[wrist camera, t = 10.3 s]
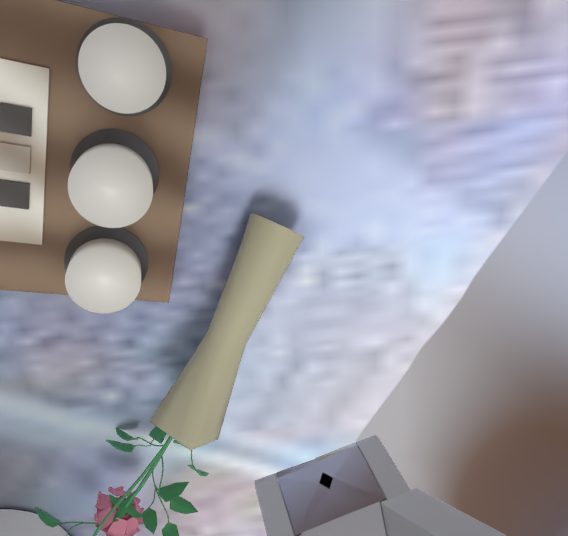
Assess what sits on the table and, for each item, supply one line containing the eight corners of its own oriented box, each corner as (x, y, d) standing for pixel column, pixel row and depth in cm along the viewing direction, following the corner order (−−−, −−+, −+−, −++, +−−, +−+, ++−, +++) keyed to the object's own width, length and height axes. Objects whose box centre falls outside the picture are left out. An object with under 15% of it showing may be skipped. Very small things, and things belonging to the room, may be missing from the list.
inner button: (137, 303, 37) (137, 315, 35) (66, 298, 35) (62, 310, 33) (144, 242, 35) (144, 252, 33) (71, 234, 34) (67, 244, 32)
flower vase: (270, 226, 50) (135, 523, 51) (172, 178, 42) (14, 532, 43) (348, 258, 41) (184, 616, 43) (243, 205, 33) (43, 649, 34)
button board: (167, 286, 42) (169, 305, 39) (-16, 271, 37) (-31, 290, 34) (202, 39, 35) (208, 38, 32) (-17, -16, 30) (-36, -24, 27)
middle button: (148, 223, 33) (148, 232, 31) (69, 213, 32) (65, 222, 30) (156, 151, 31) (157, 156, 30) (74, 136, 30) (70, 141, 28)
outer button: (160, 117, 32) (160, 121, 30) (79, 101, 30) (75, 104, 29) (169, 36, 30) (171, 35, 29) (84, 15, 29) (80, 12, 27)
